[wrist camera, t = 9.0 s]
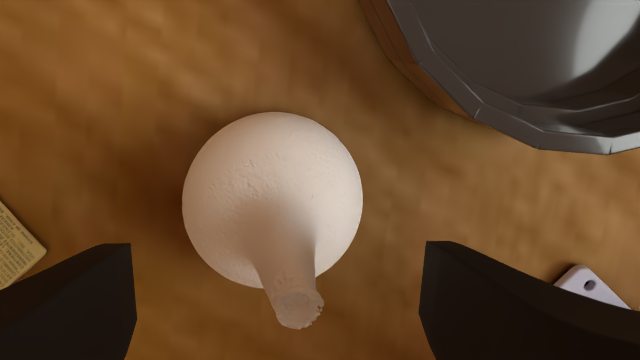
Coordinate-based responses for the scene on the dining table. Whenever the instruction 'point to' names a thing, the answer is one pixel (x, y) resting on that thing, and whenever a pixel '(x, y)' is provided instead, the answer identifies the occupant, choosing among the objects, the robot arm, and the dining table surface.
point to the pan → (524, 65)
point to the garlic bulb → (274, 208)
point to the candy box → (16, 248)
